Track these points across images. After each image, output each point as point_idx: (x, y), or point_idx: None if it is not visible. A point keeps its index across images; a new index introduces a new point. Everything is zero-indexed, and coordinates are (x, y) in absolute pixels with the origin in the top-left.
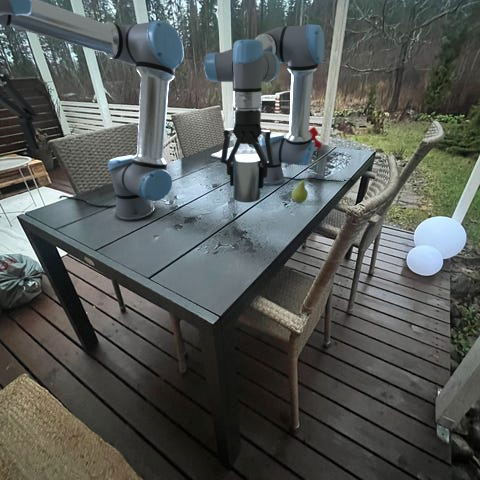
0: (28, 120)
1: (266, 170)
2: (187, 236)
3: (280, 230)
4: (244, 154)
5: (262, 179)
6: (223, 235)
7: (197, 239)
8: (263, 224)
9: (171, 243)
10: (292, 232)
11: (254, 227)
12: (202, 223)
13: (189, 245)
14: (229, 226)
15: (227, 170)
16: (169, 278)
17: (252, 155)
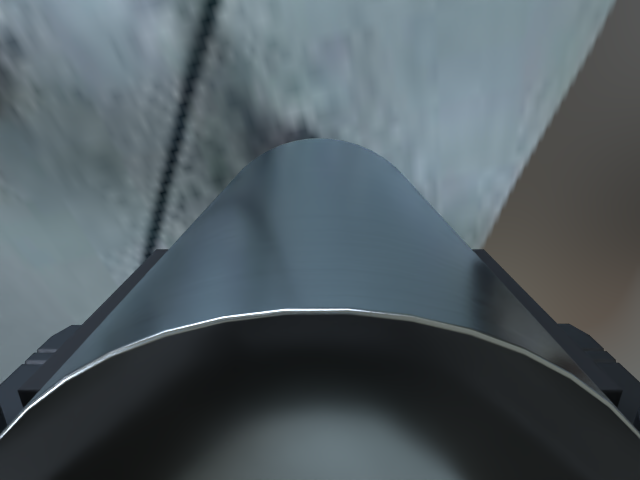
0: None
1: None
2: (62, 233)
3: (483, 77)
4: (156, 386)
5: None
6: (213, 190)
7: (117, 246)
8: (387, 28)
9: (33, 294)
10: (545, 84)
11: (343, 76)
12: (58, 98)
13: (110, 292)
14: (210, 97)
15: None
16: None
17: (426, 431)
